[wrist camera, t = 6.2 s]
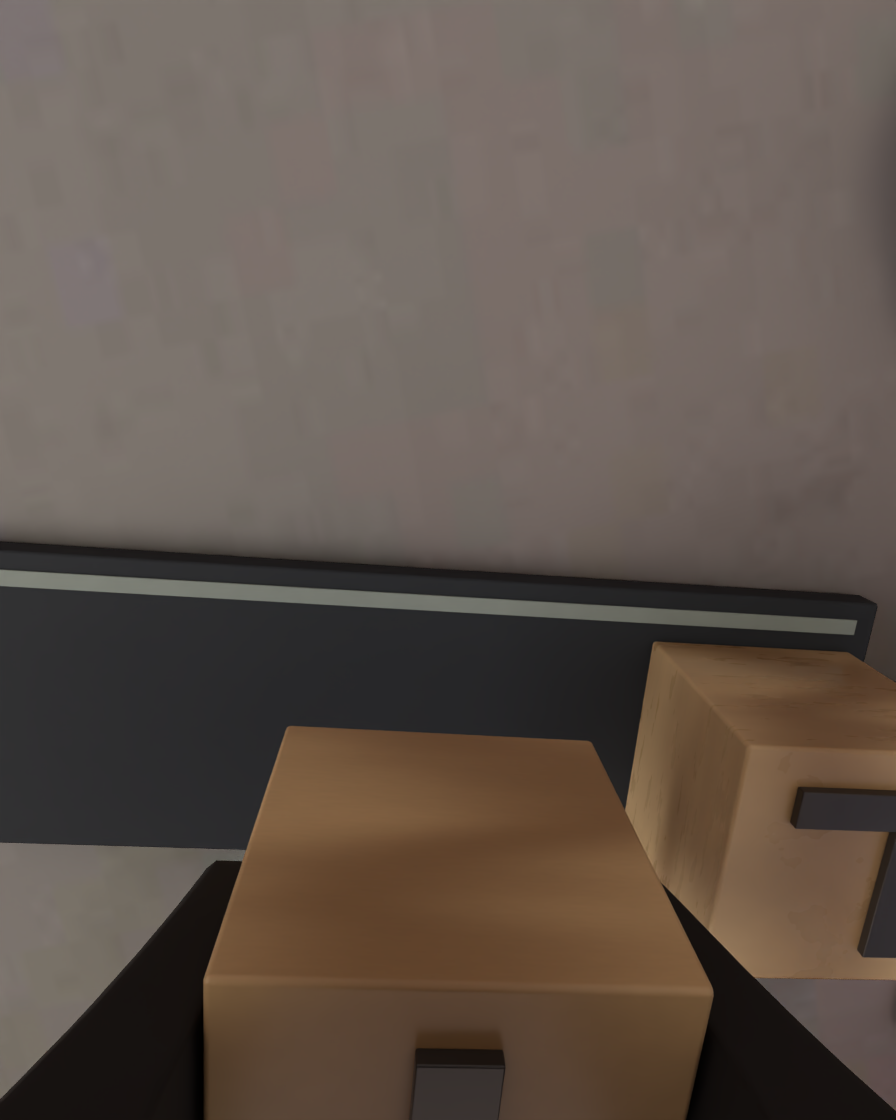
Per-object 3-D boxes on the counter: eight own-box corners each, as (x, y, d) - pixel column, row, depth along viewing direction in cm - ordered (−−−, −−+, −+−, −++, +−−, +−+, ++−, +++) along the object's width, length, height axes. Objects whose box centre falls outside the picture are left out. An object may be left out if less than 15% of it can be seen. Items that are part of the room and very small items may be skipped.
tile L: (849, 651, 14) (1024, 763, 10) (805, 826, 15) (950, 991, 11) (651, 640, 14) (754, 752, 10) (622, 820, 15) (703, 988, 11)
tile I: (592, 738, 10) (727, 1009, 6) (554, 984, 11) (646, 1363, 7) (286, 723, 9) (195, 998, 5) (278, 977, 10) (196, 1371, 6)
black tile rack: (860, 594, 15) (880, 604, 14) (799, 849, 16) (814, 868, 16) (-43, 538, 13) (-65, 546, 13) (-16, 824, 15) (-34, 844, 14)
